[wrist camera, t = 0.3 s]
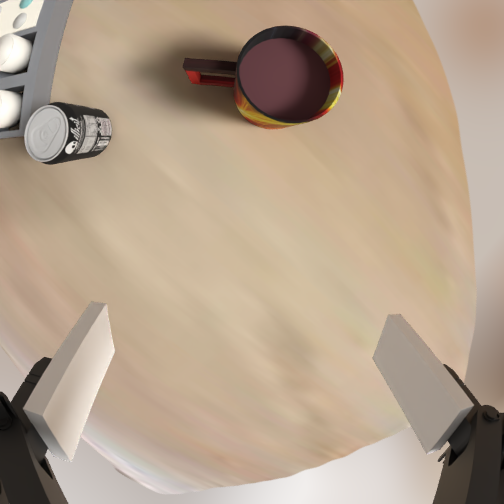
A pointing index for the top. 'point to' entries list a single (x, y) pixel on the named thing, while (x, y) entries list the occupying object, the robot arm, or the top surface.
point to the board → (33, 51)
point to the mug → (278, 77)
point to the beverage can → (66, 133)
